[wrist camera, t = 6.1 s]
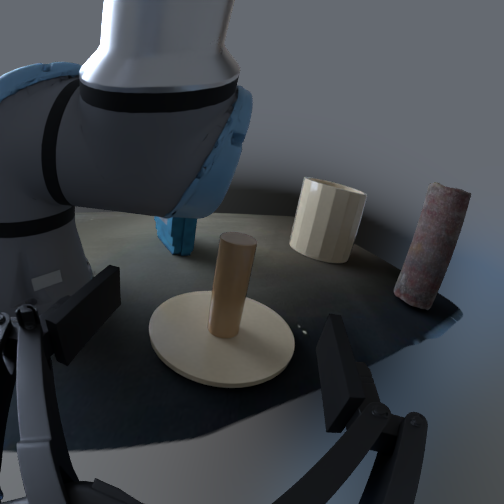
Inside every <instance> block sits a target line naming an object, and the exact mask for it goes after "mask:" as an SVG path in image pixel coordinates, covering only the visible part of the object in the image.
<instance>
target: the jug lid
mask: <svg viewBox="0 0 504 504" xmlns="http://www.w3.org/2000/svg"><path fill="white" fill-rule="evenodd" d="M256 247H257V240H256V239H255V238H253V237H252V236H249V235H246V234H243V233H238V232H226V233H222V234H221V235H220V240H219V246H218V253H217V259H216V266H215V273H214V280H213V287H212V291H198V292H190V293H185V294H181V295H178V296H175V297H173V298H171V299H169V300H167V301H165V302H164V303H162V304H161V305H160V306H159V307H158V308H157V309H156V310H155V311H154V313H153V315H152V316H151V319H150V322H149V338H150V342H151V345H152V347H153V349H154V351H155V353H156V354H157V355H158V356H159V358H160V359H161V360H162V361H163V362H164V363H165V364H166V365H167V366H168V367H170V368H171V369H172V370H174V371H175V372H177V373H178V374H180V375H182V376H184V377H186V378H188V379H190V380H193V381H195V382H198V383H202V384H205V385H209V386H215V387H223V388H242V387H249V386H254V385H258V384H261V383H264V382H266V381H269V380H271V379H272V378H274V377H276V376H277V375H279V374H280V373H281V372H282V371H283V370H284V369H285V368H286V367H287V366H288V364H289V362H290V361H291V359H292V356H293V353H294V348H295V342H294V336H293V333H292V331H291V329H290V327H289V326H288V324H287V323H286V322H285V321H284V320H283V319H282V317H281V316H279V315H278V314H277V313H276V312H274V311H273V310H272V309H270V308H269V307H267V306H265V305H263V304H261V303H259V302H257V301H255V300H252V299H250V298H247V297H246V295H247V290H248V285H249V281H250V276H251V271H252V266H253V261H254V256H255V252H256Z"/></svg>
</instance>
